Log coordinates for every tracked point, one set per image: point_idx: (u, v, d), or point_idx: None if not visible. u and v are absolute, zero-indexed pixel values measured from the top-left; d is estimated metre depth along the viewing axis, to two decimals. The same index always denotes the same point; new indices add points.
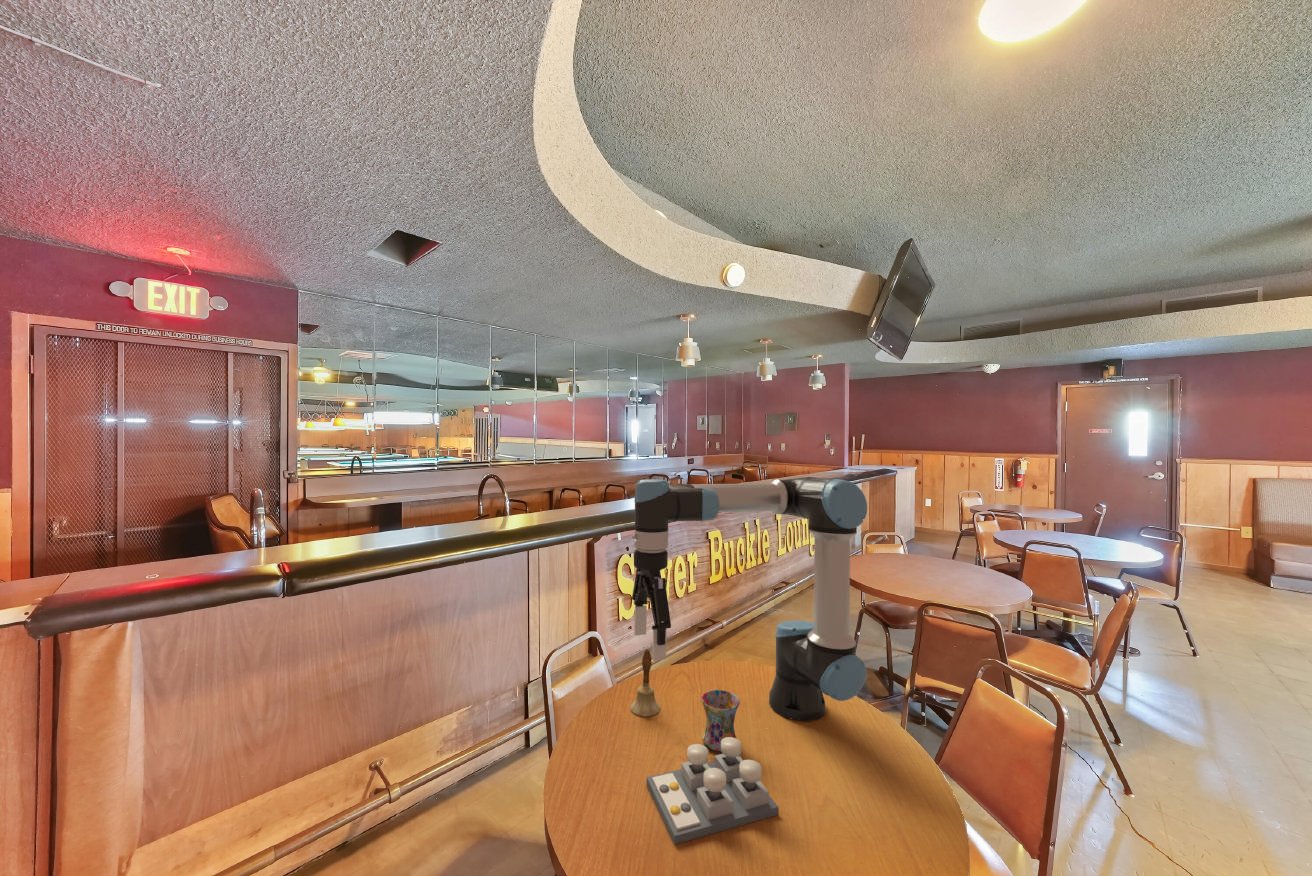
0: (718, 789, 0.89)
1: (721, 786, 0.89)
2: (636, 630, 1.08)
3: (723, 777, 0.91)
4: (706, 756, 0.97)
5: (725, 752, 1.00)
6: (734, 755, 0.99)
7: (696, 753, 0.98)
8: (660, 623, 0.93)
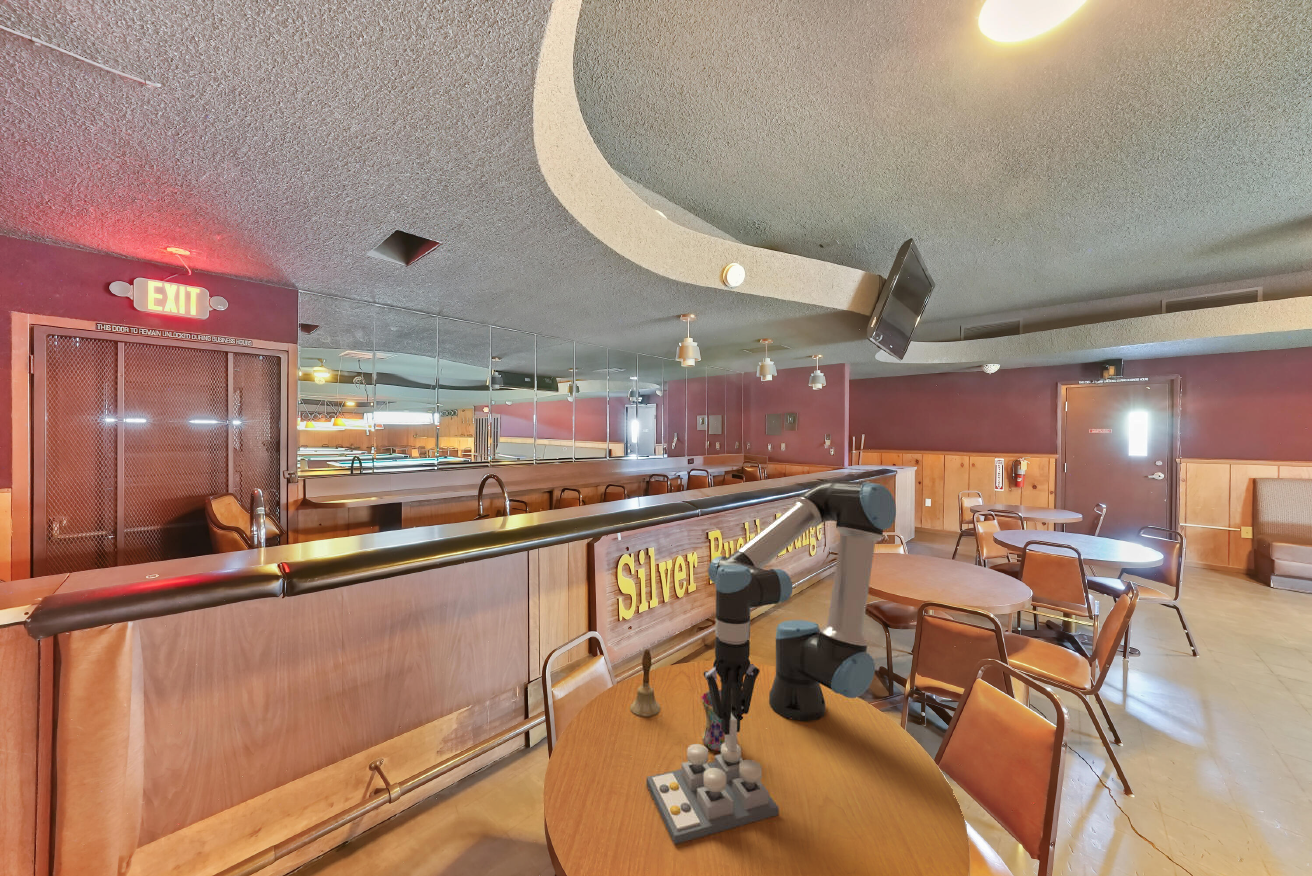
0: (718, 789, 0.89)
1: (721, 786, 0.89)
2: None
3: (723, 777, 0.91)
4: (706, 756, 0.97)
5: (725, 757, 1.00)
6: (734, 760, 0.99)
7: (696, 753, 0.98)
8: (713, 710, 1.01)
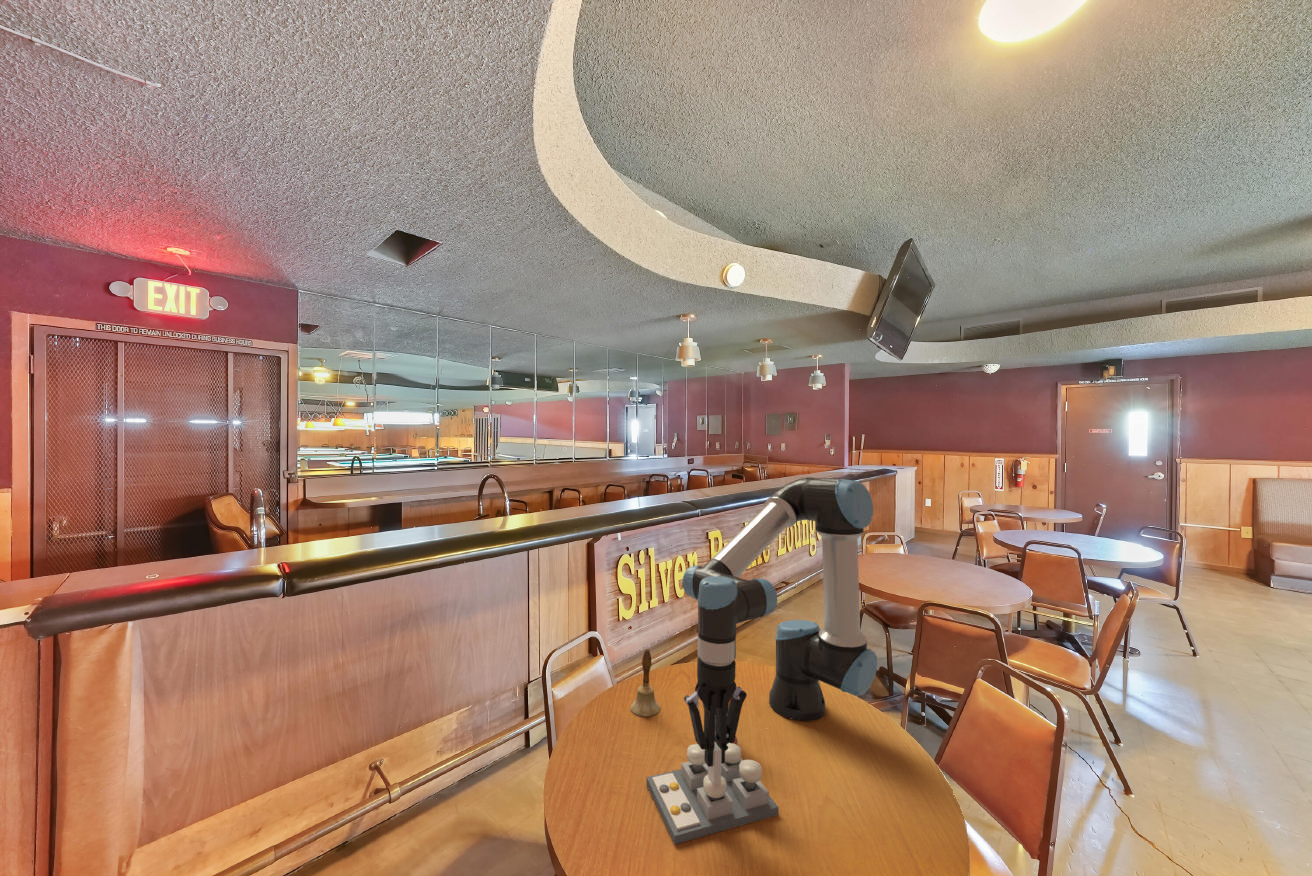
0: (718, 795, 0.89)
1: (721, 792, 0.89)
2: None
3: (723, 783, 0.90)
4: None
5: (725, 758, 1.00)
6: (734, 761, 0.99)
7: (696, 753, 0.98)
8: (695, 739, 0.91)
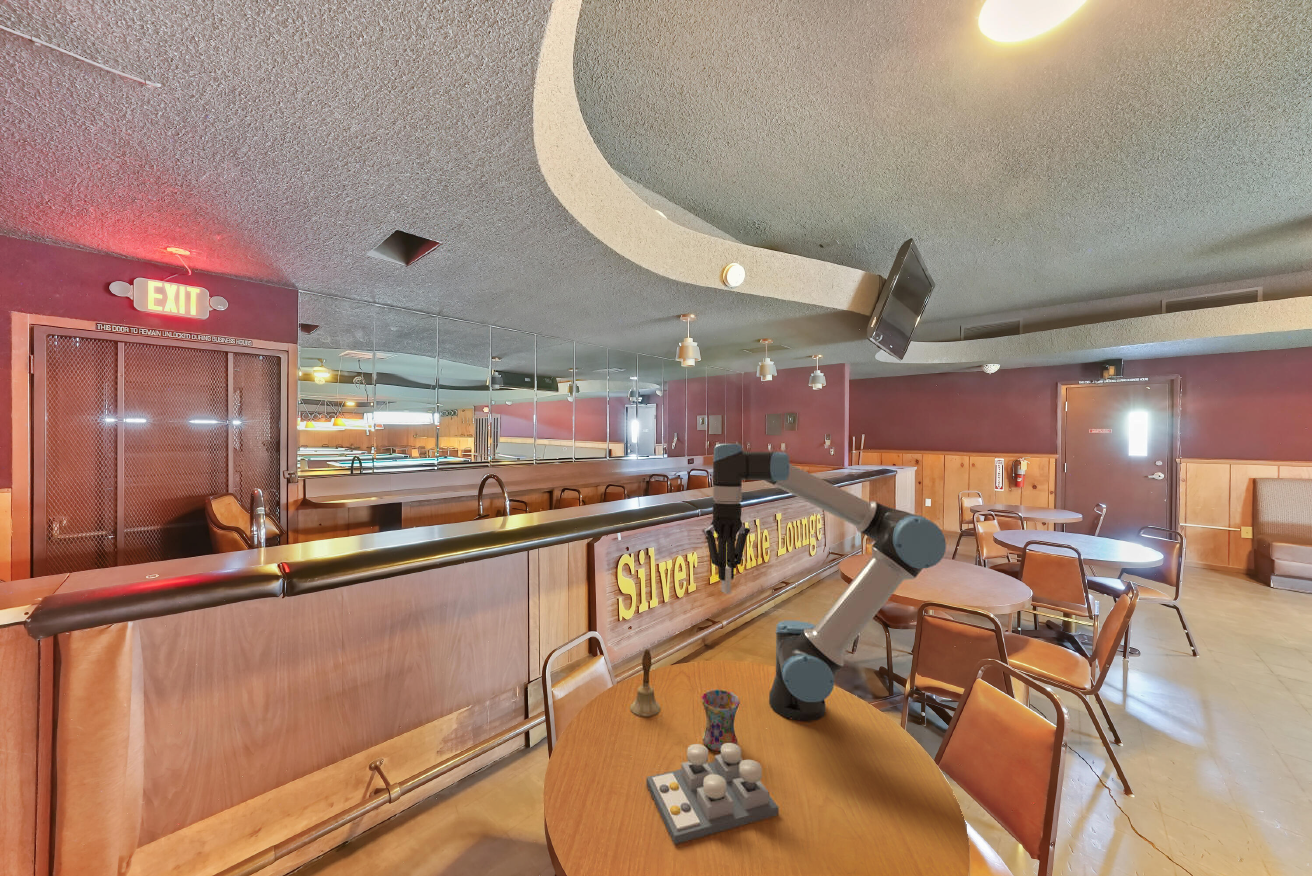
0: (718, 796, 0.89)
1: (721, 793, 0.89)
2: None
3: (723, 784, 0.90)
4: (706, 756, 0.97)
5: (725, 758, 1.00)
6: (734, 761, 0.99)
7: (696, 753, 0.98)
8: None
